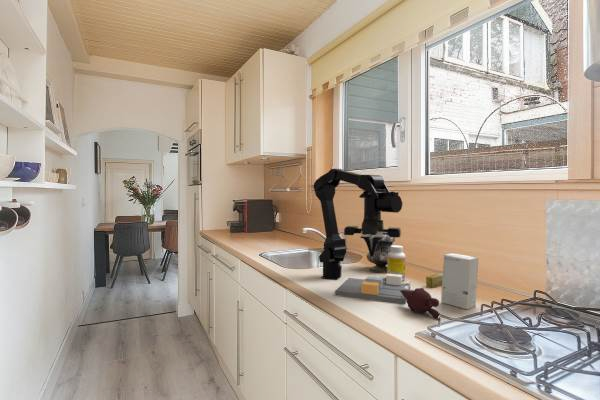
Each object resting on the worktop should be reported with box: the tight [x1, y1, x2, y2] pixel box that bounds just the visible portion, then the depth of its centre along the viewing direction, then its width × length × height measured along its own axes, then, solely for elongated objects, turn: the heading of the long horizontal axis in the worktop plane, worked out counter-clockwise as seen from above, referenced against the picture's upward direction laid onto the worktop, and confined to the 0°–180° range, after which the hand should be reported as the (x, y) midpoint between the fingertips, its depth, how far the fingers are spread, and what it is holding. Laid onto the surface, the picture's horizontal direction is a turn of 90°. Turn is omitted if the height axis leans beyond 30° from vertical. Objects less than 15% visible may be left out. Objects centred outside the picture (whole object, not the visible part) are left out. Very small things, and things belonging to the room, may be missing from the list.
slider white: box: [385, 273, 403, 286], centre depth 119 cm, size 5×4×3 cm
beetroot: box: [400, 287, 441, 320], centre depth 96 cm, size 7×7×15 cm
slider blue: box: [365, 276, 383, 289], centre depth 115 cm, size 5×4×3 cm
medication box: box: [425, 271, 443, 289], centre depth 124 cm, size 12×3×4 cm, turn 126°
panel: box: [334, 277, 411, 305], centre depth 115 cm, size 22×18×3 cm
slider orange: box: [361, 281, 379, 295], centre depth 109 cm, size 5×4×3 cm
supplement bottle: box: [387, 244, 406, 282], centre depth 131 cm, size 7×7×13 cm
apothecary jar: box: [366, 227, 396, 274], centre depth 146 cm, size 12×12×18 cm
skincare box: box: [440, 253, 479, 310], centre depth 102 cm, size 8×6×15 cm
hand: (372, 256), depth 118 cm, fingers closed
